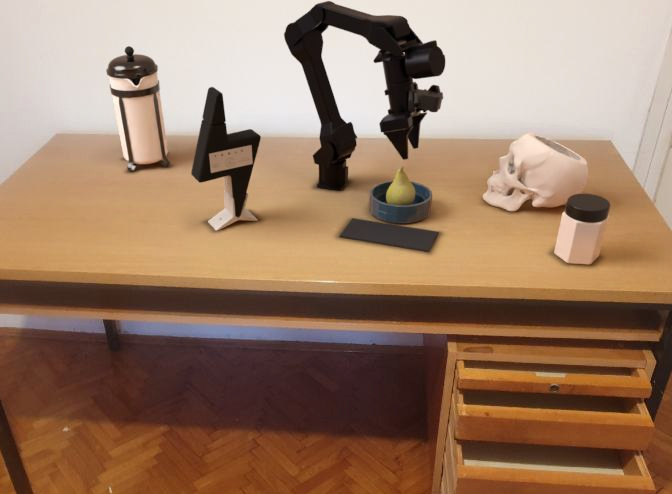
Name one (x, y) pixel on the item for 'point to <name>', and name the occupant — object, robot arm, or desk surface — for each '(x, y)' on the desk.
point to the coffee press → (138, 109)
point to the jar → (582, 228)
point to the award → (225, 160)
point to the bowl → (400, 212)
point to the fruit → (401, 190)
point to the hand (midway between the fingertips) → (410, 153)
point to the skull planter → (536, 174)
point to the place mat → (389, 234)
